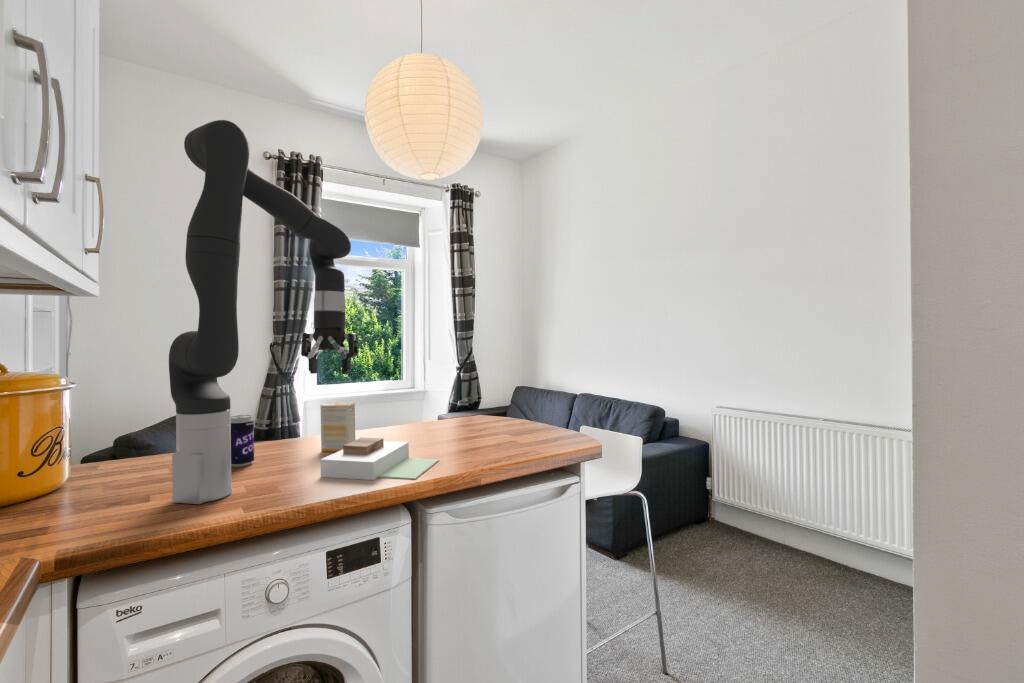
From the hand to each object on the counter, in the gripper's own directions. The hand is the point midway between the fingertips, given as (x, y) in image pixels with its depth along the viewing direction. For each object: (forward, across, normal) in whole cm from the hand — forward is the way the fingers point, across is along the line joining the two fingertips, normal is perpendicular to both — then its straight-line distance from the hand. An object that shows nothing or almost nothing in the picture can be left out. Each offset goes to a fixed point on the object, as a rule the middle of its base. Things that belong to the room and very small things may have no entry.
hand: (329, 373), depth 122 cm
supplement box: (+22, -4, +12) cm, 26 cm away
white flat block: (+22, +12, -2) cm, 25 cm away
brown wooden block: (+18, +10, -2) cm, 21 cm away
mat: (+22, +22, -2) cm, 32 cm away
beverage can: (+23, -20, -5) cm, 31 cm away
